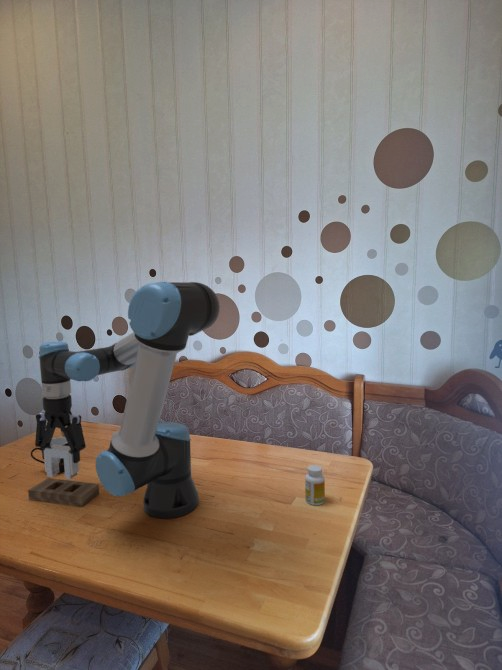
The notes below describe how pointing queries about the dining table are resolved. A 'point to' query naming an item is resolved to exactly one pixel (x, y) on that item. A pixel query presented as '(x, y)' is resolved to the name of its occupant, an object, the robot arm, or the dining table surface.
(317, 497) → the supplement bottle
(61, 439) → the coffee mug
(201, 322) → the robot arm
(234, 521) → the dining table surface
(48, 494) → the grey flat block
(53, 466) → the clip
